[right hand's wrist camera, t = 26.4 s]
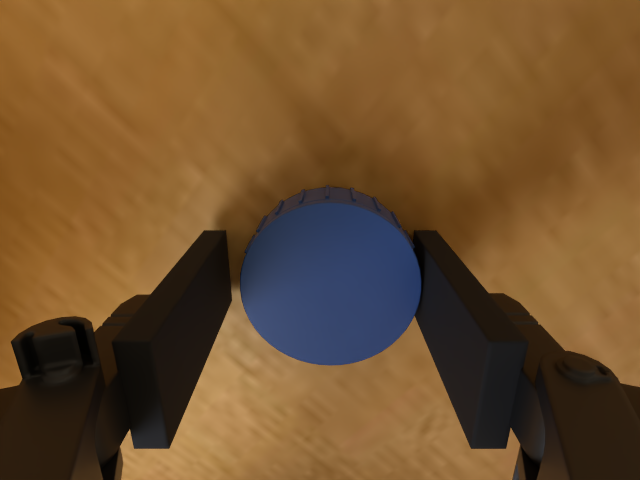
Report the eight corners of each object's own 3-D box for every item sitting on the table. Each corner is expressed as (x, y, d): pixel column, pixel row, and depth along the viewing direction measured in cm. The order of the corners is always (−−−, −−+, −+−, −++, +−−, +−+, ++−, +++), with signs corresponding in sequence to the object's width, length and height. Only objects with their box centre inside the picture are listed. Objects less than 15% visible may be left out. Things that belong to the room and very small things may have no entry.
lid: (370, 353, 16) (376, 389, 14) (228, 301, 15) (214, 332, 13) (440, 223, 14) (458, 244, 12) (282, 158, 13) (273, 169, 11)
